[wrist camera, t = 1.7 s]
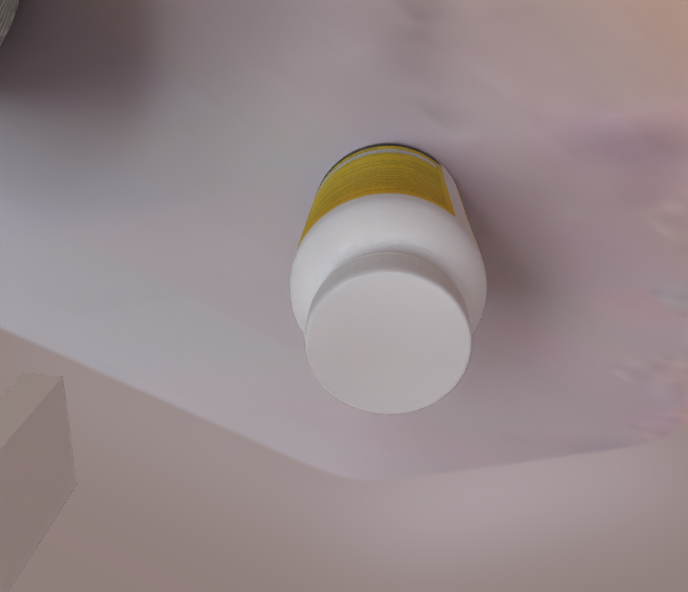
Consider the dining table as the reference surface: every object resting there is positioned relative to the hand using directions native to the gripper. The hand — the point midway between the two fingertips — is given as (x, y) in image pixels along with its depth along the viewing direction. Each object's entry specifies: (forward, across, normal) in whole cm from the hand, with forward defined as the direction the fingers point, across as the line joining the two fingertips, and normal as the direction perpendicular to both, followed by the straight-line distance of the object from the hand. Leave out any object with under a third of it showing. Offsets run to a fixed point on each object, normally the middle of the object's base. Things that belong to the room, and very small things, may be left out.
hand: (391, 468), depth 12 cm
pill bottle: (+17, 0, 0) cm, 17 cm away
